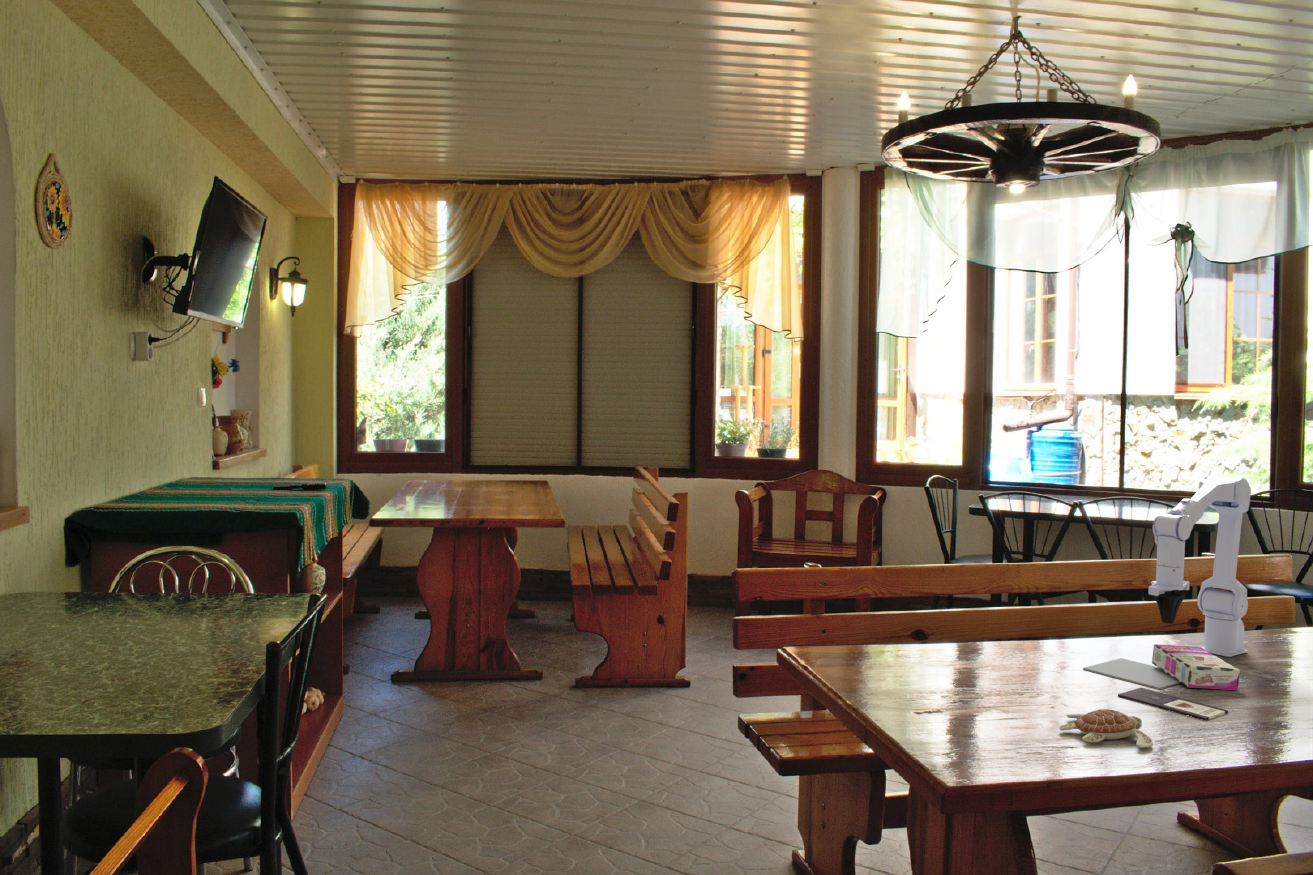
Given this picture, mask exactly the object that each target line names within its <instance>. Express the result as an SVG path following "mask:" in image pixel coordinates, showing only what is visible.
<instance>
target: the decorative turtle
mask: <svg viewBox="0 0 1313 875" xmlns="http://www.w3.org/2000/svg"><path fill="white" fill-rule="evenodd" d="M1065 716H1066V718H1069V719H1075V720H1074V722H1071V723H1066V724H1062V725H1060V726H1059V727H1058V729H1059V730H1060V731H1069V730H1079V731H1080V732H1081V734H1082V735H1084V736H1082V740H1083V741H1085V742H1087V743H1100V742H1101V741H1103V740H1119V739H1123V738H1128V737H1131V736H1132V735H1133V736H1135V738H1136V739H1137V741H1136V744H1135V745H1136V747H1137V748H1139V749H1144V748H1150V747H1152V746H1153V745H1154V742H1153V740H1152V738H1151V737H1150V736H1148V734H1146V733H1144V732H1143V731H1141V730H1140V729H1141V727H1142V724H1143V723H1142V722H1143V721H1142V719H1141V718H1139V717H1137V716H1134V715H1130V716H1129V715H1128V714H1127V715H1126V714H1125V713H1124V712H1123V713H1122V712H1121V711H1118V710H1113V709H1108V708H1107V709H1096V710H1092V711H1089V712H1088V713H1085V714H1084V713H1069V714H1065Z"/></svg>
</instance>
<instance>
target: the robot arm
mask: <svg viewBox="0 0 1313 875" xmlns="http://www.w3.org/2000/svg"><path fill="white" fill-rule="evenodd" d="M1251 489H1252V488H1251V486H1250V483H1249V482H1248V480H1247V479H1246V478H1244V477H1236V478H1235V477H1226V476H1225V477H1224V476H1211V475H1207V474H1206V475H1203V477H1202V478H1201V479H1200V480H1199V484H1198V490H1197V491H1196V492H1195V493H1194V495H1193V496H1192V497H1190V498H1183V499H1181V500H1180V502H1179V503H1177V504H1176V505H1175V506H1174V507H1173V508H1171V510H1169V511H1168V512H1167V513H1160V514H1159V515H1157V516H1156V517H1155V519H1154V520H1153V524H1152V533H1153V536H1154V543H1155V545H1156V567H1155V568H1156V569H1155V570H1156V571H1155V580H1152V581H1151V582H1150V584H1151V585H1149V586H1148V591H1147V592H1148V595H1150V596H1153V598H1154V600H1155V601H1156V604H1157V606H1158V611H1159V614H1160V620H1161V623H1164V624H1168V625H1171V624H1174V623H1175V620H1176V617H1177V614H1178V611H1179V609H1180V606H1181V604H1182V602H1183V601H1184V600H1185V598H1186V593H1185V592H1179V591H1189V590H1190V581H1187V580H1184V576H1185V573H1184V572H1185V552H1186V550H1185V548H1186V540H1188V539H1189V538H1190V536H1191V532H1192V530H1193V529H1194V525H1195V524H1196V523H1198V522H1199V521H1200V520H1201V519H1202V518H1203V516H1204V510H1205V509H1206V508H1208V507H1210V508H1211V509H1213V510H1215V511H1216V512H1217V513H1218V522H1217V523H1218V524H1217V531H1216V532H1217V533H1216V543H1215V550H1214V561H1213V571H1212V576H1211V577H1209V578H1207V579H1205V580H1204V581H1202V582H1201V585H1200V590H1199V593H1198V595H1197V602H1196V603H1197V606H1198V608H1199V611H1201V612H1202V615H1203V616H1205V618H1204V641H1203V646H1200V647H1201V648H1203V649H1204V650H1206V651H1208V652H1210V653H1211V654H1213V655H1217V656H1222V657H1228V658H1231V657H1235V656H1238V655H1242V654H1245V653H1248V650H1247V649H1244V647H1245V646H1244V642H1245V641H1244V640H1245V625H1244V622H1243V621H1242V619H1243V617H1245V615H1247V612H1248V609H1249V608H1248V607H1249V602H1248V589H1247V588H1246V587H1245V586H1244V585H1243V584H1242V583H1241V582H1240V581H1239V580H1238V579H1237V568H1238V558H1239V551H1240V550H1239V549H1240V542H1241V541H1240V539H1241V530H1242V524H1243V513H1246V512H1248V511H1249V507H1250V504H1251V496H1252V495H1251V494H1252V490H1251ZM1221 589H1222V590H1221Z"/></svg>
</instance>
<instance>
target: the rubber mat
mask: <svg viewBox="0 0 1313 875" xmlns="http://www.w3.org/2000/svg"><path fill="white" fill-rule="evenodd" d="M1082 670H1083V671H1087V672H1092V673H1096V674H1100V675H1103V676H1106V677H1110V678H1114V679H1118V680H1120V681H1121V680H1122V681H1126V682H1130V683H1134V684H1137V685H1141V686H1145V687H1149V688H1153V689H1156V690H1163V689H1166V688H1170V687H1173V685H1174V686H1177V685H1180V684H1182V683H1181V682H1179V681H1178V680H1176V679H1175V678H1173V677H1172V676H1171V675H1169V674H1167V673H1166V672H1164V671H1163V670H1161V669H1160V668H1158V667H1157V666H1155V665H1151V664H1148V663H1147V664H1146V663H1142V662H1139V661H1135V660H1132V659H1127V658H1122V657H1121V658H1118V659H1112V660H1109V661H1105V662H1101V663H1098V664H1093V665H1089V666H1085V667H1082Z"/></svg>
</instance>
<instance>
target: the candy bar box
mask: <svg viewBox="0 0 1313 875" xmlns="http://www.w3.org/2000/svg"><path fill="white" fill-rule="evenodd" d="M1201 647H1202V646H1186V645H1174V644H1173V645H1169V644H1157V643H1156V644H1155V643H1154V644H1153V647H1152V648H1153V651H1152V657H1151V664H1153V666H1156V667H1158V668H1160V669H1161V670H1163V671H1164V672H1166V673H1167V674H1169V675H1171V676H1172V677H1173V678H1175V679H1176V680H1178V681H1179V682H1181V683H1180V684H1183V685H1184V686H1185V687H1186V688H1190V689H1191V688H1192V689H1193V688H1194V689H1209V690H1210V689H1211V690H1212V689H1213V690H1225V691H1238V690H1239V684H1240V683H1239V680H1240V675H1241V674H1240V672H1241V669H1240V668H1237V667H1235V666H1234V665H1232V664H1230V663H1229V662H1228V661H1227V662H1226V661H1225V660H1223V659H1222V658H1219V656H1218V655H1217V656H1216V654H1213V653H1210V652H1208V651H1206V650H1204V649H1203V648H1201Z"/></svg>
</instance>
